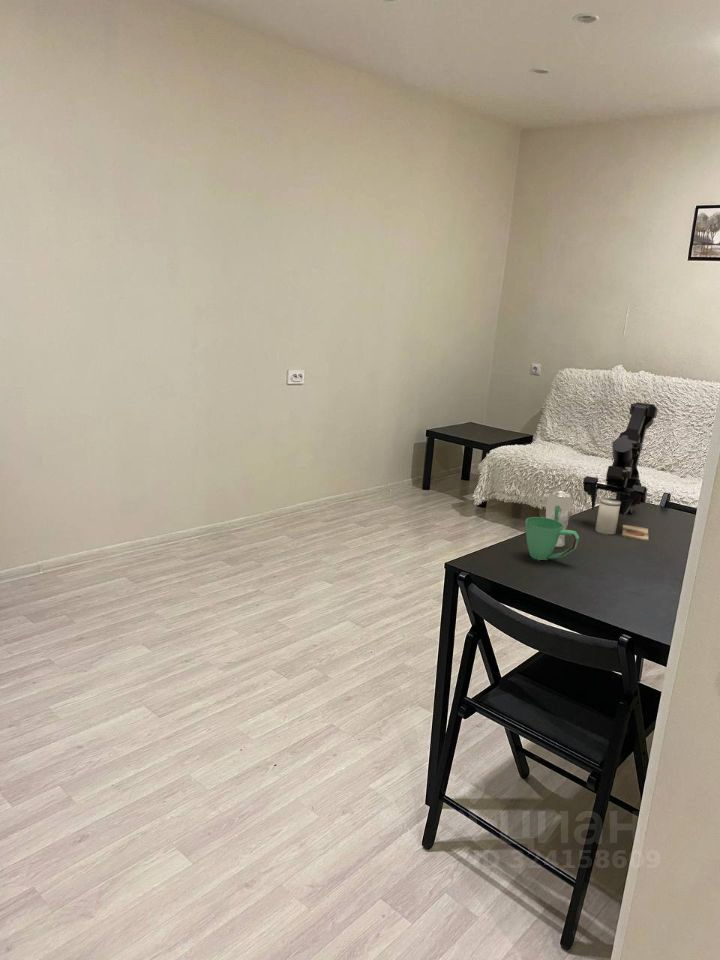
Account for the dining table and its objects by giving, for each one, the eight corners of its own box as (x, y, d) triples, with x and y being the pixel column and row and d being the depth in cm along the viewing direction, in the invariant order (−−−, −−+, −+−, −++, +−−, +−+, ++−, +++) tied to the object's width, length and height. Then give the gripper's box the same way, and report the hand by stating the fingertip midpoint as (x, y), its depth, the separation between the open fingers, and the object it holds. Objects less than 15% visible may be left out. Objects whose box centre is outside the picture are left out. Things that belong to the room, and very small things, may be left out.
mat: (622, 525, 233) (623, 523, 233) (647, 530, 231) (648, 527, 230) (622, 536, 222) (622, 533, 222) (648, 540, 220) (648, 538, 219)
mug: (515, 557, 196) (520, 522, 194) (527, 548, 205) (532, 514, 202) (569, 571, 189) (575, 535, 187) (579, 561, 197) (585, 526, 195)
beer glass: (542, 538, 215) (549, 489, 211) (566, 542, 213) (574, 492, 209) (540, 545, 208) (547, 494, 205) (565, 549, 206) (572, 498, 203)
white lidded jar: (595, 527, 230) (600, 496, 227) (615, 530, 228) (621, 499, 225) (594, 532, 224) (599, 501, 222) (615, 535, 222) (620, 504, 220)
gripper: (589, 450, 228) (575, 491, 221) (651, 461, 219) (639, 504, 213) (590, 471, 236) (577, 510, 230) (651, 481, 228) (639, 523, 221)
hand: (607, 511), depth 223 cm, fingers open, 9 cm apart
